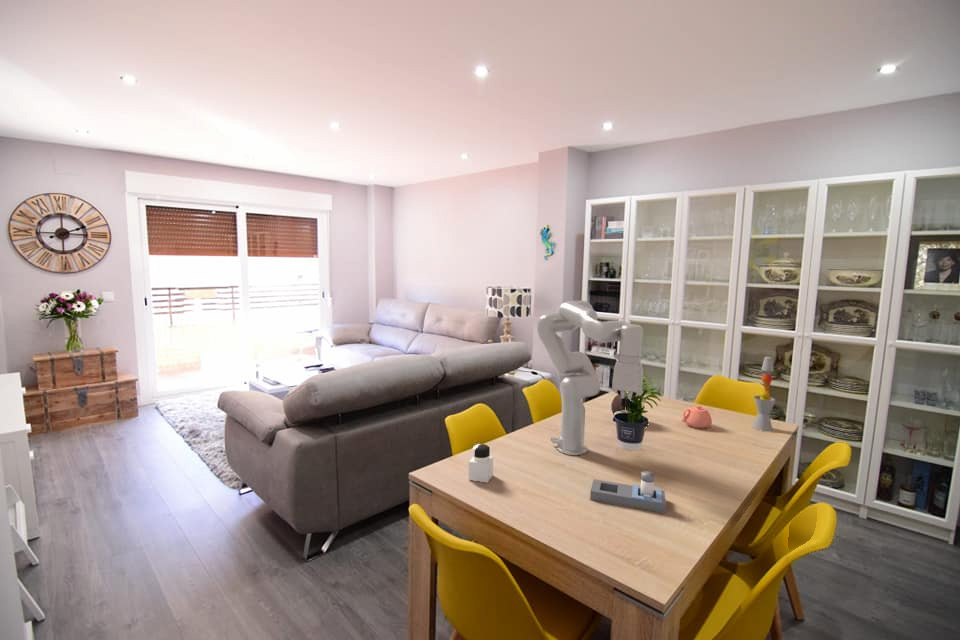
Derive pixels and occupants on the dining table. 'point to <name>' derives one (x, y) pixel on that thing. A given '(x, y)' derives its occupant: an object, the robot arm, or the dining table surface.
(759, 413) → the lava lamp
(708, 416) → the pink rounded piece
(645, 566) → the dining table surface
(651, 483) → the plug
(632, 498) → the grey slotted holder
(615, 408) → the wooden sphere
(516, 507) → the dining table surface
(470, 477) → the medicine bottle
